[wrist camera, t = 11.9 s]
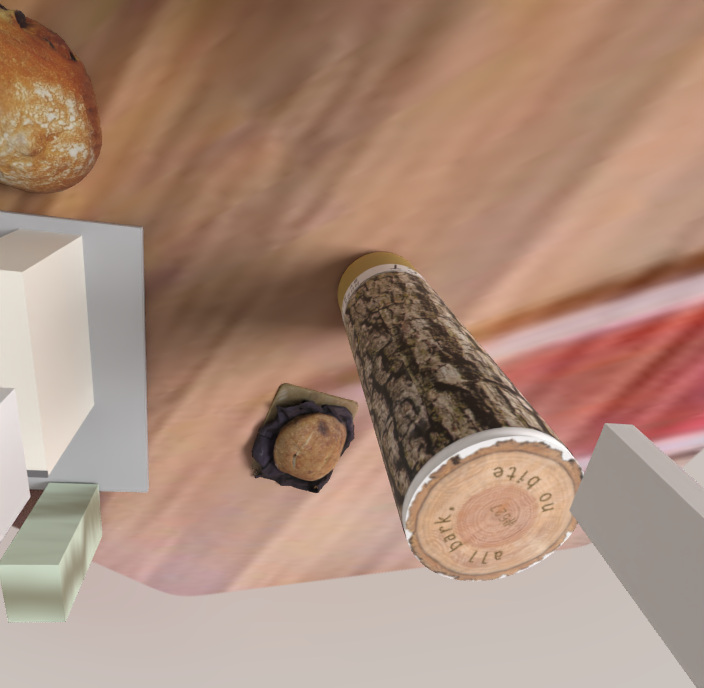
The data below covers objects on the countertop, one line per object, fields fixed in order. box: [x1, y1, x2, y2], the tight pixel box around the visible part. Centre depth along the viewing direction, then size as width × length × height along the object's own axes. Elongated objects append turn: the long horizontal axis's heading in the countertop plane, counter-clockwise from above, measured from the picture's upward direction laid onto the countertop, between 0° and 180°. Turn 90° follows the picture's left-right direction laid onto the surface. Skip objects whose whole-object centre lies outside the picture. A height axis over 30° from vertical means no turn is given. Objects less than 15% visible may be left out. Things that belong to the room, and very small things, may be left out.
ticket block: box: [0, 210, 149, 492], centre depth 36 cm, size 24×12×10 cm, turn 172°
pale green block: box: [0, 483, 102, 623], centre depth 41 cm, size 6×4×9 cm, turn 172°
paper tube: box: [338, 252, 584, 581], centre depth 29 cm, size 7×7×25 cm
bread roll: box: [0, 4, 102, 193], centre depth 30 cm, size 10×10×8 cm
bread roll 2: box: [252, 383, 358, 493], centre depth 45 cm, size 11×8×4 cm
